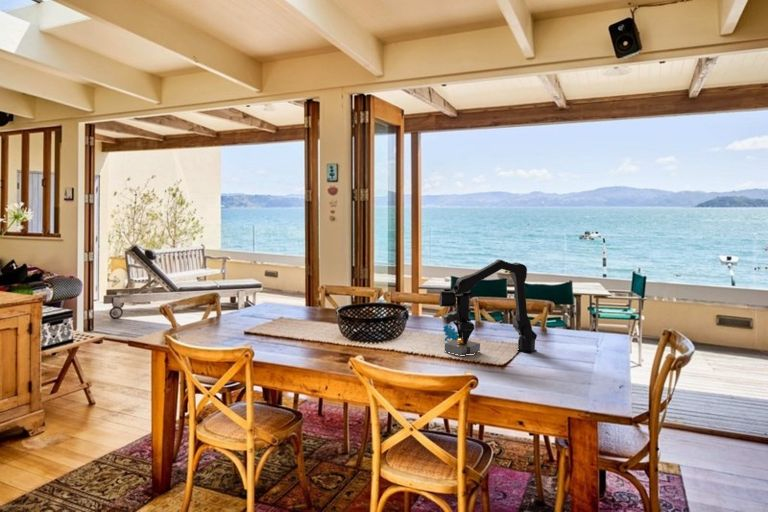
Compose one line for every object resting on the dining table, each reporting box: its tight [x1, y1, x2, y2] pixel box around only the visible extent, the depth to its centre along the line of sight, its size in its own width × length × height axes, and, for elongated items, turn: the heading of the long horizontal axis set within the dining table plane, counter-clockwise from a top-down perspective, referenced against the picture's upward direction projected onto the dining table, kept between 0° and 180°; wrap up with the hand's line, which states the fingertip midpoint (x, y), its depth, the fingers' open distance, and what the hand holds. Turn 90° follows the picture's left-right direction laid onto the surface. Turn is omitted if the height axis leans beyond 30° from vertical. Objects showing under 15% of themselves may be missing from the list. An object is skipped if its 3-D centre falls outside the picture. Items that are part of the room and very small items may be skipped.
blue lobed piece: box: [442, 324, 459, 341], centre depth 237 cm, size 11×6×10 cm
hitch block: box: [444, 339, 481, 355], centre depth 217 cm, size 12×12×4 cm
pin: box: [457, 338, 467, 345], centre depth 217 cm, size 4×4×6 cm
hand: (462, 341), depth 217 cm, fingers open, 9 cm apart
